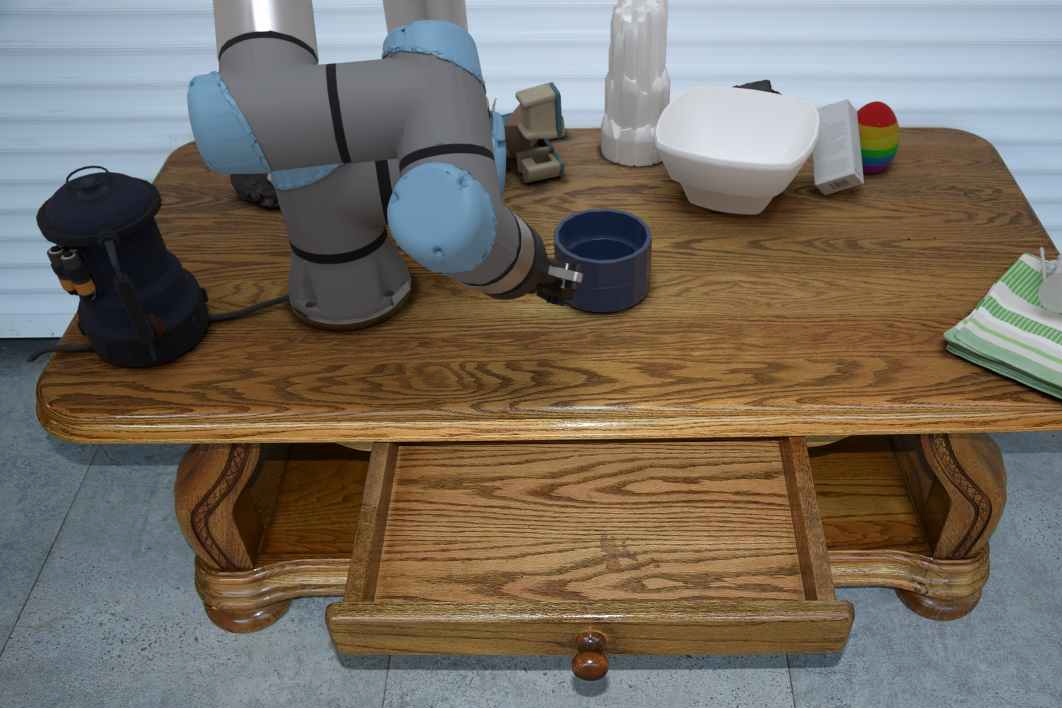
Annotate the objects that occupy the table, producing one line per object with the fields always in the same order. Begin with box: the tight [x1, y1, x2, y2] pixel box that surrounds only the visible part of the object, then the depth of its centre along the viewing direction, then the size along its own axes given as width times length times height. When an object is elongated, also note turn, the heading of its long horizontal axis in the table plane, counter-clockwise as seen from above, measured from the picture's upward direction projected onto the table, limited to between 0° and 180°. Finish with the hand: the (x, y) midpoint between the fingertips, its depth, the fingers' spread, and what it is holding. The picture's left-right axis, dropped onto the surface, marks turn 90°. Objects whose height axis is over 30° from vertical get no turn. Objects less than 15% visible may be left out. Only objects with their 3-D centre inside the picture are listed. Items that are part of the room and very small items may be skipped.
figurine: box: [1038, 246, 1062, 313], centre depth 116 cm, size 5×5×12 cm
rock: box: [229, 173, 280, 209], centre depth 135 cm, size 12×8×10 cm
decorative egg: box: [856, 100, 901, 174], centre depth 140 cm, size 8×8×10 cm
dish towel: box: [942, 252, 1062, 400], centre depth 113 cm, size 18×23×3 cm
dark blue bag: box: [35, 165, 210, 368], centre depth 106 cm, size 15×21×20 cm
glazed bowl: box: [552, 207, 653, 313], centre depth 119 cm, size 12×12×8 cm
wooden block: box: [504, 103, 538, 150], centre depth 140 cm, size 4×4×8 cm
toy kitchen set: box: [501, 82, 566, 184], centre depth 141 cm, size 18×14×11 cm
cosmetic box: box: [811, 98, 865, 196], centre depth 136 cm, size 6×4×12 cm
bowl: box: [653, 85, 820, 216], centre depth 133 cm, size 22×22×12 cm
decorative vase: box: [600, 0, 671, 167], centre depth 139 cm, size 11×11×25 cm
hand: (560, 293), depth 106 cm, fingers closed
